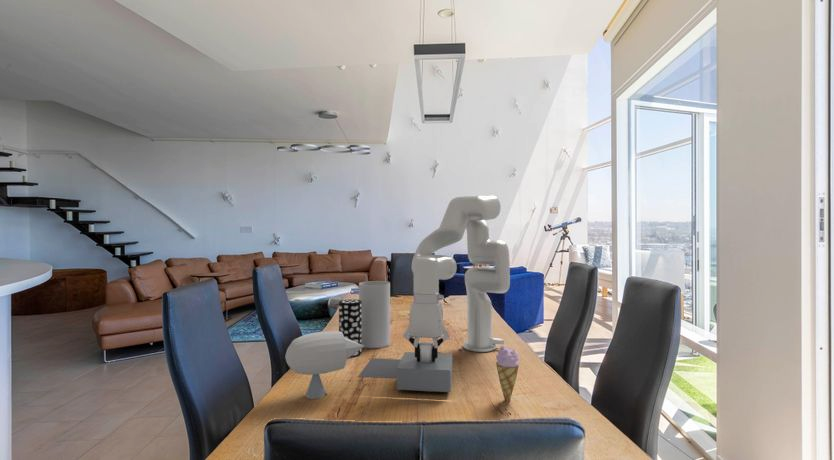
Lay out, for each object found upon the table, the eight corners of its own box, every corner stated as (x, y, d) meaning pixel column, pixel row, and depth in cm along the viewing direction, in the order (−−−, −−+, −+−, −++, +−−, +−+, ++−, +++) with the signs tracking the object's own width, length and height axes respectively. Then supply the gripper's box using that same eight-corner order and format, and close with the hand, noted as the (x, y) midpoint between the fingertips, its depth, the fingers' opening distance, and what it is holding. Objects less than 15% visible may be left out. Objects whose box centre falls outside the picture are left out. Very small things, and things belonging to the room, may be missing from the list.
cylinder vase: (396, 343, 164) (396, 282, 164) (377, 351, 153) (377, 286, 153) (372, 339, 170) (372, 280, 170) (352, 346, 160) (352, 283, 160)
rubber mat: (421, 361, 141) (421, 360, 141) (414, 380, 123) (414, 379, 123) (371, 359, 143) (371, 358, 143) (357, 377, 126) (357, 376, 126)
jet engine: (353, 406, 105) (352, 340, 105) (279, 404, 107) (279, 338, 107) (365, 384, 120) (365, 326, 120) (300, 382, 122) (300, 325, 122)
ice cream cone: (492, 395, 112) (492, 342, 112) (514, 394, 113) (514, 341, 113) (499, 405, 106) (499, 349, 105) (522, 404, 106) (522, 348, 106)
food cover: (452, 372, 125) (452, 337, 125) (450, 392, 110) (450, 352, 110) (405, 370, 127) (405, 336, 127) (397, 389, 112) (396, 350, 112)
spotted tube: (357, 359, 144) (356, 303, 144) (335, 357, 145) (335, 303, 145) (364, 352, 152) (364, 299, 152) (344, 351, 153) (343, 299, 153)
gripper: (454, 297, 122) (454, 357, 122) (400, 296, 124) (400, 355, 124) (453, 301, 114) (453, 365, 114) (396, 300, 116) (396, 363, 116)
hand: (426, 359), depth 119 cm, fingers closed on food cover, 4 cm apart
